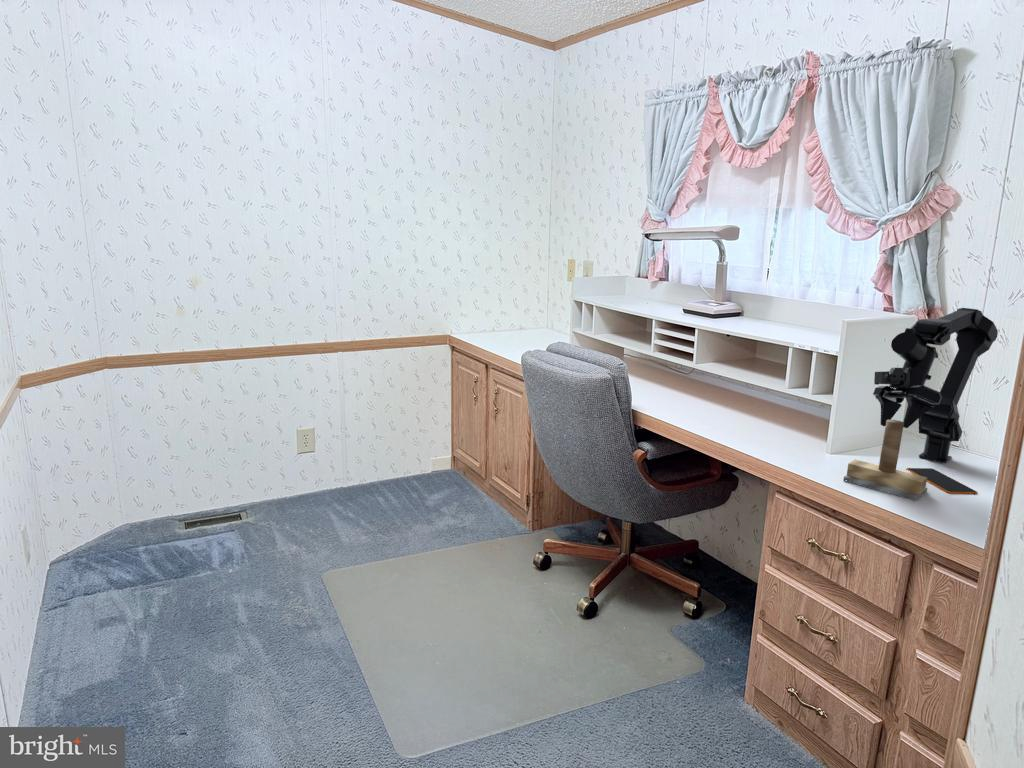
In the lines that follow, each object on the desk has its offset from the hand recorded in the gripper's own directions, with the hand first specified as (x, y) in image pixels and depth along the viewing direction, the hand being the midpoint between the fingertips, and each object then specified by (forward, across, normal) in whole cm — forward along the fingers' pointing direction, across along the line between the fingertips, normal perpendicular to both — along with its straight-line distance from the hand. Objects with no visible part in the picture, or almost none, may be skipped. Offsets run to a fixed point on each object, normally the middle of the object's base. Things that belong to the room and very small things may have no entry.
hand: (893, 426), depth 168 cm
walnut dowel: (+11, +6, -1) cm, 13 cm away
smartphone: (+9, +1, +15) cm, 18 cm away
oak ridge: (+15, +5, 0) cm, 16 cm away
